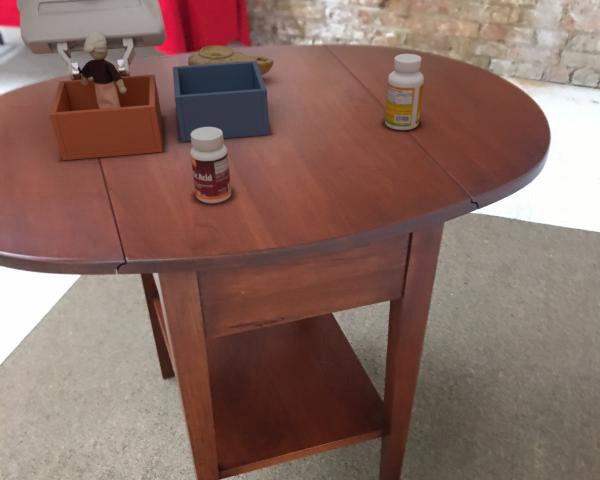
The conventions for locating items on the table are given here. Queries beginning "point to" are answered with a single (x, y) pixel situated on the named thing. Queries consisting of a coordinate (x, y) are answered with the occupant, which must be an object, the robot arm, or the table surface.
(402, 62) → the supplement bottle
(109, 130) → the terracotta bin
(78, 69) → the robot arm
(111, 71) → the grandmother figurine
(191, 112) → the slate bin
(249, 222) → the table surface
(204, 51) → the oil lamp
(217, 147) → the pill bottle
